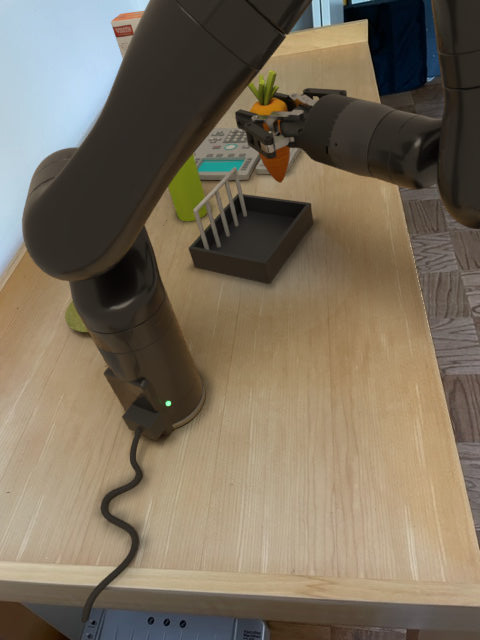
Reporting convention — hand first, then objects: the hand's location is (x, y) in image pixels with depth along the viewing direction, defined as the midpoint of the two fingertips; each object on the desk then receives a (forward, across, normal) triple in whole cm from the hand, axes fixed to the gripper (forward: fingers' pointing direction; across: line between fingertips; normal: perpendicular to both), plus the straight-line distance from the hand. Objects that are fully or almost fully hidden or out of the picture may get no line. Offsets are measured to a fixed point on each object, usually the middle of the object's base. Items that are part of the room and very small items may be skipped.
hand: (254, 109), depth 69 cm
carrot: (-3, 0, +10) cm, 11 cm away
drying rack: (+5, +1, +24) cm, 24 cm away
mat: (+12, +27, +24) cm, 38 cm away
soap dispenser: (+22, +1, +24) cm, 33 cm away
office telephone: (+30, -19, +24) cm, 43 cm away
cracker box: (+75, -28, +23) cm, 83 cm away
